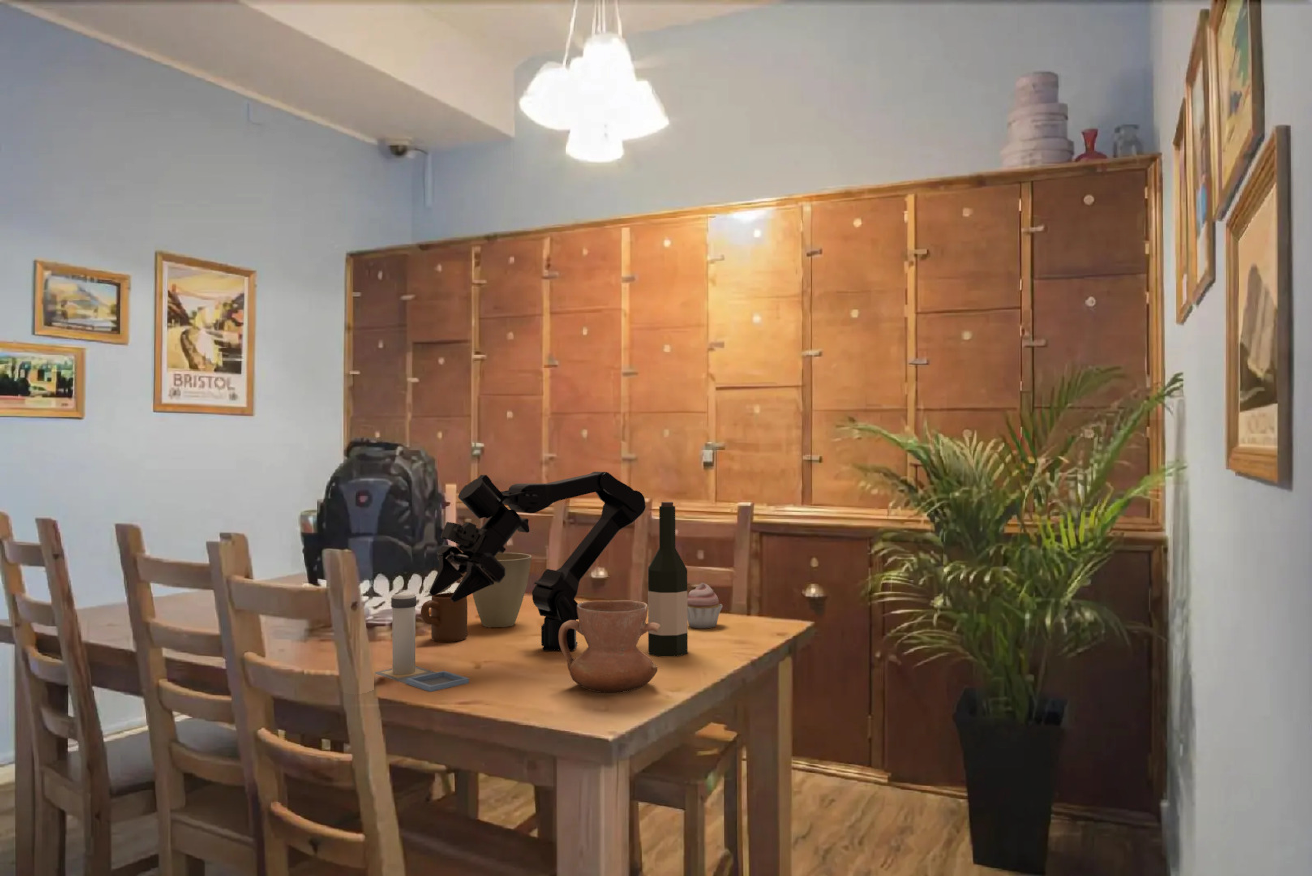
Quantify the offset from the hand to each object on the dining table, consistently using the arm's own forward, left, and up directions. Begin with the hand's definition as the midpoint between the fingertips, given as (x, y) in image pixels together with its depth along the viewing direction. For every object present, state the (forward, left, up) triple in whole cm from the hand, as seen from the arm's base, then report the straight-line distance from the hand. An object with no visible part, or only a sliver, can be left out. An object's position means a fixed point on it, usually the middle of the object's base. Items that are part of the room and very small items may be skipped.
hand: (441, 597), depth 169 cm
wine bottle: (-42, -12, -13) cm, 46 cm away
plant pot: (-3, -40, -13) cm, 43 cm away
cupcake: (-50, -38, -13) cm, 65 cm away
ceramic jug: (-32, +14, -13) cm, 38 cm away
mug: (+6, -23, -13) cm, 28 cm away
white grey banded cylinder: (+6, +5, -13) cm, 15 cm away
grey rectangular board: (+2, +8, -13) cm, 16 cm away
